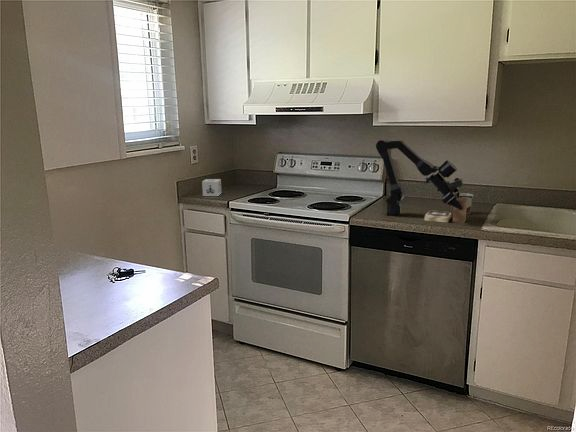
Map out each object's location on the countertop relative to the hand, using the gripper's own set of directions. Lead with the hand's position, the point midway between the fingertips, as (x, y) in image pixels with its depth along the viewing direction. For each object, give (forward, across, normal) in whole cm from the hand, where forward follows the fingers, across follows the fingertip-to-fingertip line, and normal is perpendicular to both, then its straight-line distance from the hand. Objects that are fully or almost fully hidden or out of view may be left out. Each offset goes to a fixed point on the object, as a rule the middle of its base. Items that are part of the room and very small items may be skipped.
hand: (463, 207), depth 229 cm
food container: (+2, +19, +8) cm, 21 cm away
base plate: (-3, 0, +13) cm, 13 cm away
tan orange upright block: (+4, 0, +6) cm, 7 cm away
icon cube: (-104, +10, +114) cm, 154 cm away
